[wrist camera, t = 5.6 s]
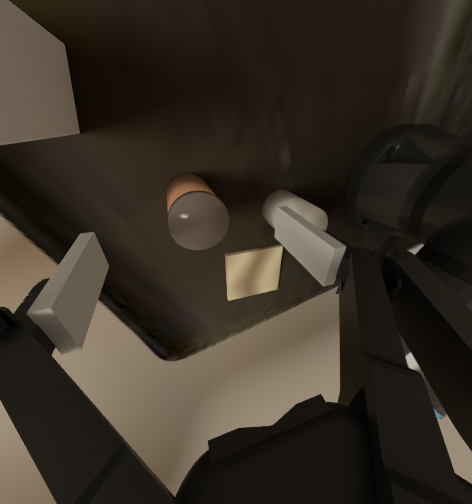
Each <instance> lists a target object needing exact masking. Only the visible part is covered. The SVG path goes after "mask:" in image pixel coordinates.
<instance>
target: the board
mask: <svg viewBox="0 0 472 504" xmlns="http://www.w3.org/2000/svg"><path fill="white" fill-rule="evenodd" d="M282 250H283V245H282V244H279V245H273V246H268V247H262V248H256V249H251V250H245V251H239V252H234V253H228V254H225V259H226V278H227V297H228V301H230V300H234V299H238V298H243V297H247V296H251V295H255V294H260V293H264V292H268V291H272V290H277V288H278V281H279V273H280V265H281V258H282Z"/></svg>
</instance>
